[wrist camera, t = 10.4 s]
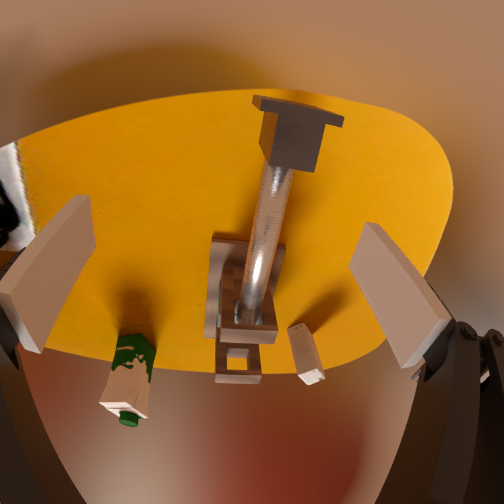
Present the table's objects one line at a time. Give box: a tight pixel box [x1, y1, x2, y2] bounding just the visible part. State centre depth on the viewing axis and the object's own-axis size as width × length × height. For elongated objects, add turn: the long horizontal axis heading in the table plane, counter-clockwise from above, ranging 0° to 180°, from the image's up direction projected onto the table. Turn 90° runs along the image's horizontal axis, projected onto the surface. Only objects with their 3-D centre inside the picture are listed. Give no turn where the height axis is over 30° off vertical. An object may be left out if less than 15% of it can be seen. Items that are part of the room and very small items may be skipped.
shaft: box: [236, 95, 344, 325], centre depth 32 cm, size 30×7×9 cm, turn 171°
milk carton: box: [99, 333, 156, 427], centre depth 51 cm, size 9×9×20 cm
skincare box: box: [287, 322, 325, 385], centre depth 55 cm, size 6×4×12 cm
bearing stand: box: [204, 238, 286, 384], centre depth 46 cm, size 24×12×15 cm, turn 171°
